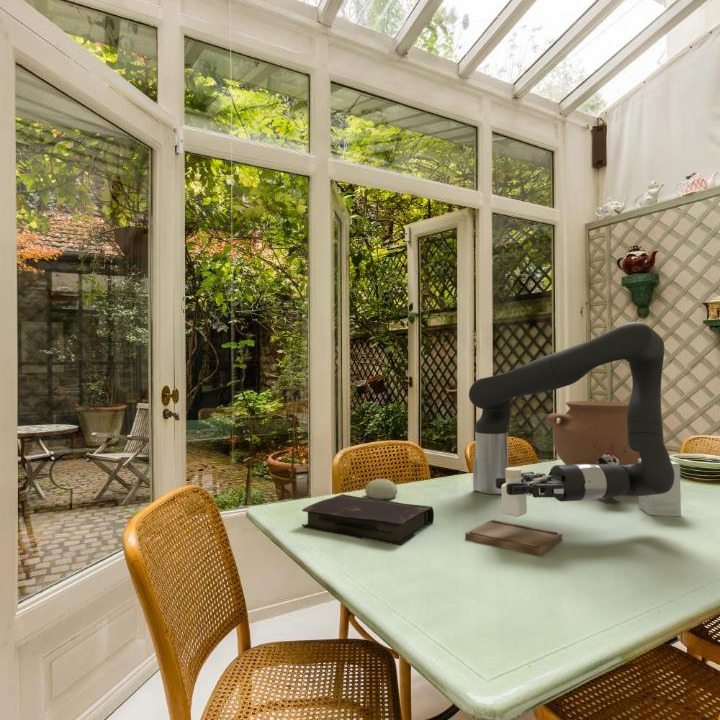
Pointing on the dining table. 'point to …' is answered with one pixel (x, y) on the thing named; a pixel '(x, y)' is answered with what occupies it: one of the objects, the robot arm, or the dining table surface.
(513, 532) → the walnut board
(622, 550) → the dining table surface
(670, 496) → the supplement box
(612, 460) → the sundae
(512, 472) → the salt shaker
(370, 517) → the diary
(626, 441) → the clay pot
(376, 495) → the sea urchin shell
